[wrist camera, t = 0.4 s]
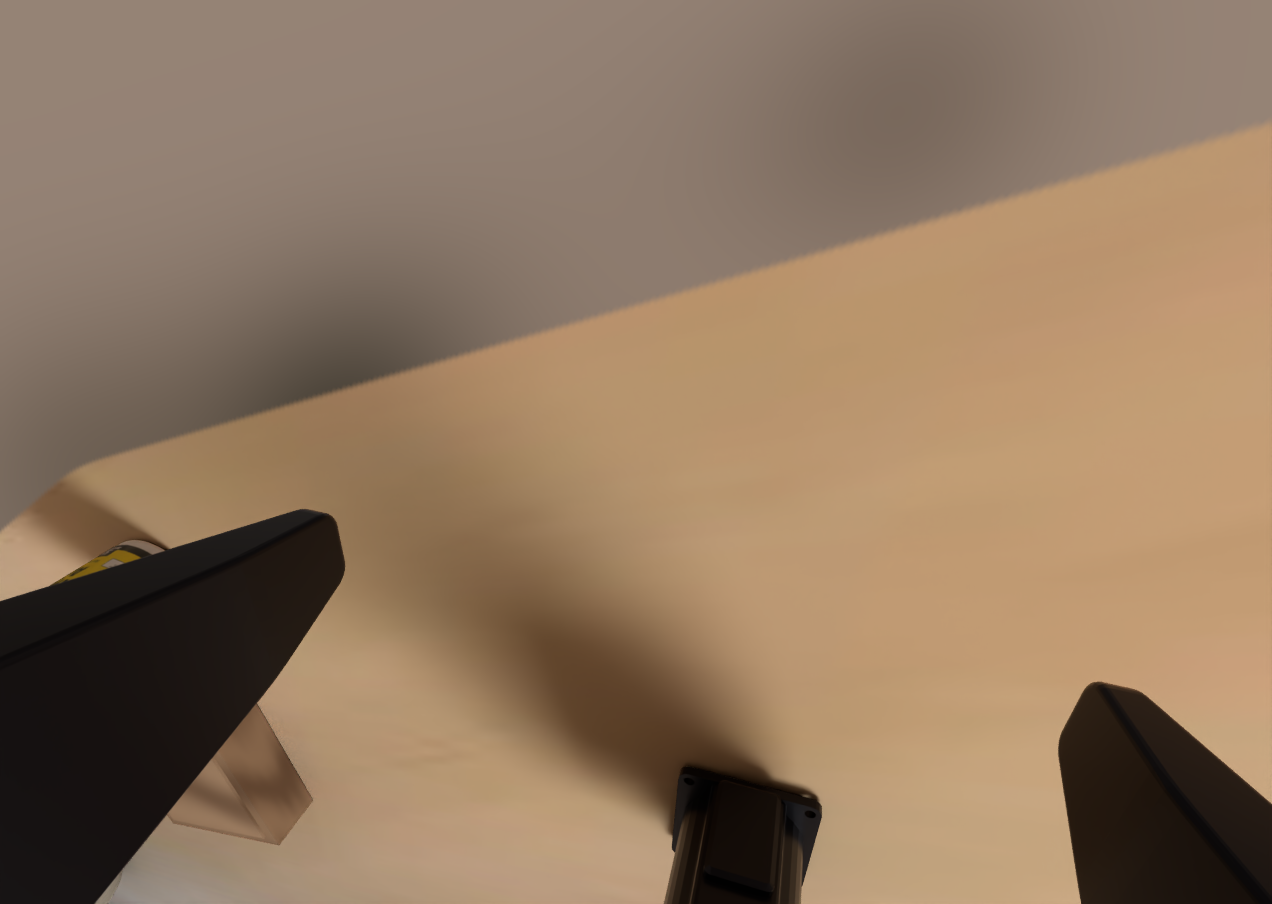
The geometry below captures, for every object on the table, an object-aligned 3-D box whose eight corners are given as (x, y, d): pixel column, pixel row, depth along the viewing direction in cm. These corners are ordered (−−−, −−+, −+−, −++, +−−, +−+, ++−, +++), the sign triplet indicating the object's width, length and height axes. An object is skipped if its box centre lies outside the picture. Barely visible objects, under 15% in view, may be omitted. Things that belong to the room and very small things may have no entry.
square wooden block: (312, 800, 42) (277, 847, 39) (210, 782, 45) (171, 825, 42) (254, 700, 38) (211, 745, 36) (147, 687, 41) (99, 728, 38)
